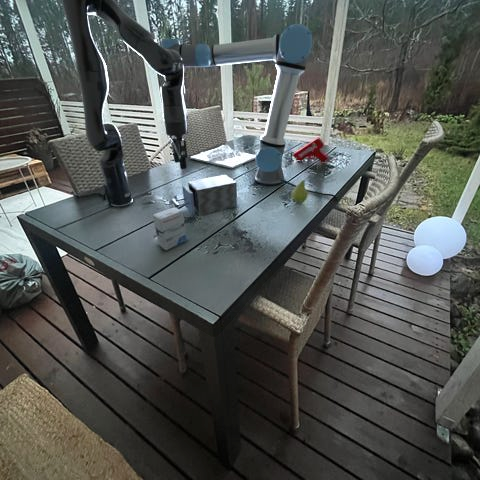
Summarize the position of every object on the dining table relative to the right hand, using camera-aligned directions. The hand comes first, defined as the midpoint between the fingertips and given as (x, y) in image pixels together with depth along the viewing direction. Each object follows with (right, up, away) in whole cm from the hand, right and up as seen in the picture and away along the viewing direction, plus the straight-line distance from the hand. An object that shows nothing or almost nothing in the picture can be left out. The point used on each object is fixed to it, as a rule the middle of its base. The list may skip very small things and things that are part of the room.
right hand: (181, 136), depth 126 cm
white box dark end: (+16, -34, -8) cm, 38 cm away
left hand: (+5, -20, -23) cm, 31 cm away
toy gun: (+71, +1, +45) cm, 84 cm away
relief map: (+17, +6, +53) cm, 56 cm away
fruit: (+54, -31, -5) cm, 63 cm away
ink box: (+4, -50, -32) cm, 59 cm away
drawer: (+10, -34, -11) cm, 37 cm away
